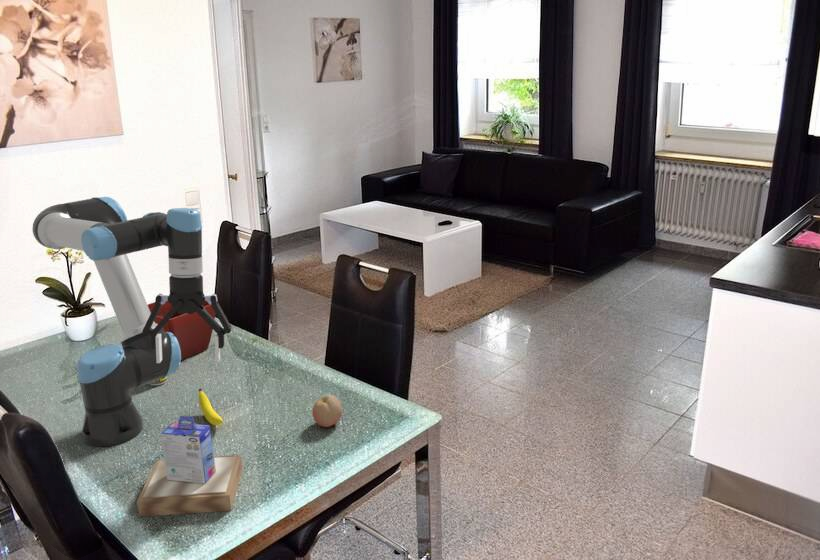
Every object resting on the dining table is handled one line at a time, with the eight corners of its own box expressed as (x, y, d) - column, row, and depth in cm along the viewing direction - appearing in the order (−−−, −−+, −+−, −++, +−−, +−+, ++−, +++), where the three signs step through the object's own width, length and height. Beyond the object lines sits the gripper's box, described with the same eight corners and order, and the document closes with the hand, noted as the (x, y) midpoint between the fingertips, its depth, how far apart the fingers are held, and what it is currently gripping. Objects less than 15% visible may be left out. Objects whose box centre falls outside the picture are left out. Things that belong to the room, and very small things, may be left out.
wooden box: (139, 516, 153) (136, 500, 152) (159, 474, 168) (156, 459, 167) (231, 510, 154) (229, 494, 153) (242, 469, 169) (240, 453, 168)
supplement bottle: (144, 384, 214) (139, 354, 211) (156, 377, 219) (152, 347, 216) (159, 387, 212) (154, 356, 209) (171, 379, 217) (166, 349, 214)
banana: (218, 438, 183) (215, 417, 181) (197, 409, 198) (194, 389, 196) (228, 435, 184) (226, 414, 182) (207, 406, 200) (204, 387, 198)
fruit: (310, 420, 190) (307, 394, 188) (337, 414, 193) (336, 388, 191) (318, 434, 183) (315, 407, 181) (347, 427, 186) (345, 401, 184)
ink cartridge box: (217, 470, 161) (210, 415, 157) (206, 484, 156) (198, 428, 152) (178, 467, 163) (169, 412, 159) (166, 480, 158) (157, 424, 154)
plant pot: (188, 336, 250) (181, 292, 245) (223, 347, 239) (217, 301, 234) (141, 355, 236) (133, 308, 230) (176, 368, 225) (169, 320, 219)
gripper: (126, 277, 158) (130, 366, 162) (238, 278, 161) (240, 365, 165) (134, 271, 165) (138, 356, 169) (241, 272, 168) (243, 355, 173)
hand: (188, 361), depth 167 cm, fingers open, 13 cm apart
